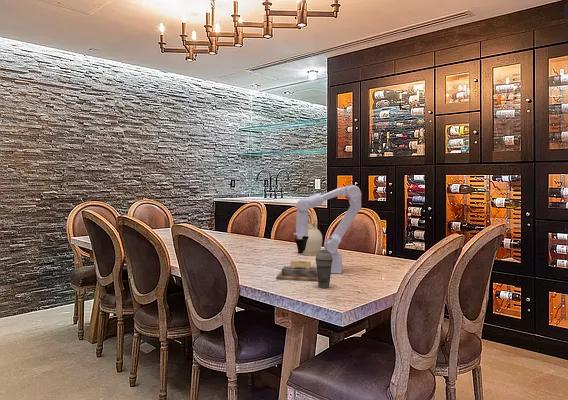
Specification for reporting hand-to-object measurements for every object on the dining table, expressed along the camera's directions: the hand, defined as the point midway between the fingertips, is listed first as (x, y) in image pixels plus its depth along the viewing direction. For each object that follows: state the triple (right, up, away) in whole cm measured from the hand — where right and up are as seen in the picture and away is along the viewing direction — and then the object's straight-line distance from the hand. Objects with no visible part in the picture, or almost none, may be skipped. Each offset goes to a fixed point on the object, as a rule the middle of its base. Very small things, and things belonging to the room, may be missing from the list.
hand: (301, 252), depth 209 cm
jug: (+7, -8, +51) cm, 52 cm away
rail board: (-1, -10, -13) cm, 16 cm away
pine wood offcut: (-1, -9, -12) cm, 15 cm away
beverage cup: (+8, -11, -30) cm, 33 cm away
